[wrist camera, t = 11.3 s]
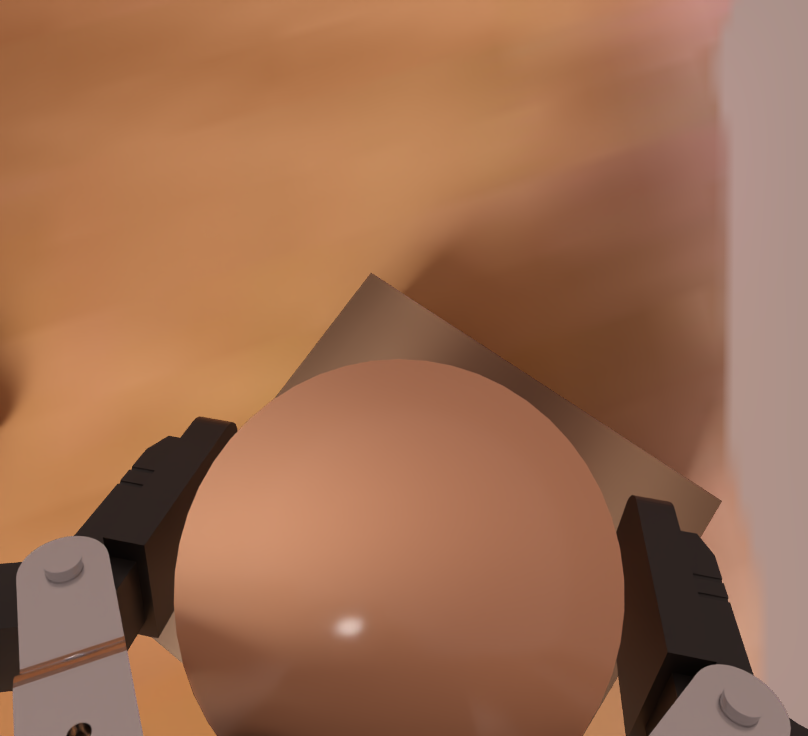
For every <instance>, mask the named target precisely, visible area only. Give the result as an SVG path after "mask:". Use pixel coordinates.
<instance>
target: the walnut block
mask: <svg viewBox="0 0 808 736" xmlns="http://www.w3.org/2000/svg"><path fill="white" fill-rule="evenodd" d="M391 359H407V360H423V361H430V362H435V363H441V364H446V365H451V366H455V367H458V368H461V369H464V370H467V371H470V372H473V373H476V374H479V375H481V376H483V377H486V378H488V379H490V380H492V381H494V382H496V383H498V384H500V385H503V386H504V387H506V388H508V389H509V390H511V391H512V392H514V393H515V394H517V395H519V396H520V397H522V398H523V399H525V400H526V401H528V402H529V403H530V404H531V405H533V406H534V407H535V408H536V409H538V410H539V411H540V412H541V413H542V414H544V415H545V416H546V417H547V418H548V419H549V420H550V421H551V422H552V423H553V424H554V425H555V426H556V427H557V428H558V429H559V430H560V431H561V432H562V433H563V434H564V435H565V436H566V438H567V439H568V440H569V441H570V442H571V444H572V445H573V446H574V448H575V449H576V450H577V452H578V453H579V455H580V456H581V457H582V459H583V460H584V461H585V463H586V464H587V466H588V468H589V470H590V471H591V473H592V475H593V477H594V479H595V480H596V482H597V484H598V486H599V488H600V489H601V492H602V494H603V497H604V499H605V502H606V504H607V507H608V509H609V512H610V514H611V517H612V520H613V523H614V527H615V531H617V528H618V526H619V523H620V520H621V517H622V514H623V511H624V508H625V506H626V503H627V501H628V499H629V497H630V496H631V495H635V496H641V497H646V498H652V499H657V500H663V501H669V502H671V503H672V504H673V505H674V508H675V512H676V515H677V519H678V522H679V526H680V530H681V531H685V532H691V533H696V534H698V536H699V537H701V536H702V534H703V532H704V531H705V529H706V527H707V525H708V524H709V522H710V520H711V519H712V517H713V515H714V514H715V512H716V510H717V509H718V507H719V505H720V504H721V502H722V501H721V500H719V499H718V498H716V497H715V496H713V495H712V494H710V493H709V492H707V491H706V490H704V489H703V488H701V487H699V486H698V485H696V484H695V483H693V482H692V481H690V480H689V479H687V478H686V477H684V476H683V475H681V474H679V473H678V472H676V471H675V470H673V469H672V468H670V467H669V466H667V465H666V464H664V463H663V462H661V461H660V460H658V459H656V458H655V457H653V456H652V455H650V454H649V453H647V452H646V451H644V450H643V449H641V448H640V447H638V446H636V445H635V444H633V443H632V442H630V441H629V440H627V439H626V438H624V437H623V436H621V435H620V434H618V433H617V432H615V431H613V430H612V429H610V428H609V427H607V426H606V425H604V424H603V423H601V422H600V421H598V420H597V419H595V418H593V417H592V416H590V415H589V414H587V413H586V412H584V411H583V410H581V409H580V408H578V407H577V406H575V405H573V404H572V403H570V402H569V401H567V400H566V399H564V398H563V397H561V396H560V395H558V394H557V393H555V392H554V391H552V390H550V389H549V388H547V387H546V386H544V385H543V384H541V383H540V382H538V381H537V380H535V379H534V378H532V377H530V376H529V375H527V374H526V373H524V372H523V371H521V370H520V369H518V368H517V367H515V366H514V365H512V364H511V363H509V362H507V361H506V360H504V359H503V358H501V357H500V356H498V355H497V354H495V353H494V352H492V351H491V350H489V349H487V348H486V347H484V346H483V345H481V344H480V343H478V342H477V341H475V340H474V339H472V338H471V337H469V336H467V335H466V334H464V333H463V332H461V331H460V330H458V329H457V328H455V327H454V326H452V325H451V324H449V323H448V322H446V321H444V320H443V319H441V318H440V317H438V316H437V315H435V314H434V313H432V312H431V311H429V310H428V309H426V308H424V307H423V306H421V305H420V304H418V303H417V302H415V301H414V300H412V299H411V298H409V297H408V296H406V295H405V294H403V293H401V292H400V291H398V290H397V289H395V288H394V287H392V286H391V285H389V284H388V283H386V282H385V281H383V280H381V279H380V278H378V277H377V276H375V275H374V274H372V273H371V274H370V275H369V276H368V277H367V279H366V280H365V281H364V283H363V284H362V285H361V287H360V288H359V289H358V291H357V292H356V293H355V294H354V296H353V297H352V298H351V300H350V301H349V302H348V304H347V305H346V306H345V307H344V309H343V310H342V311H341V313H340V314H339V315H338V317H337V318H336V319H335V320H334V322H333V323H332V324H331V326H330V327H329V328H328V330H327V331H326V332H325V334H324V335H323V336H322V337H321V339H320V340H319V341H318V343H317V344H316V345H315V347H314V348H313V349H312V350H311V352H310V353H309V354H308V356H307V357H306V358H305V360H304V361H303V362H302V364H301V365H300V366H299V367H298V369H297V370H296V371H295V373H294V374H293V375H292V377H291V378H290V379H289V380H288V382H287V383H286V384H285V386H284V387H283V388H282V390H281V391H280V392H279V393H278V395H277V396H276V397H275V398H277V397H278V396H280V395H281V394H283V393H284V392H286V391H288V390H289V389H291V388H292V387H294V386H296V385H298V384H300V383H302V382H304V381H306V380H309V379H311V378H313V377H315V376H317V375H319V374H322V373H325V372H328V371H331V370H334V369H337V368H340V367H343V366H347V365H352V364H358V363H363V362H368V361H376V360H391ZM152 638H153V639H155V640H156V641H157V642H158V643H159V644H160V645H162V646H163V647H164V648H165V649H166V650H168V651H169V652H170V653H171V654H172V655H173V656H175V657H176V658H177V659H178V660H179V661H181V662H182V657H181V652H180V648H179V643H178V638H177V634H176V622H175V611H174V612H173V614H172V615H171V617H170V619H169V621H168V622H167V624H166V626H165V628H164V629H163V631H162V633H161V635H160V636H159V638H154V637H152ZM182 663H183V662H182ZM617 677H618V670H617V662H615V666H614V670H613V674H612V676H611V679H610V681H609V684H608V686H607V689H606V691H605V694H604V696H603V699H602V701H601V704H602V703H603V701H604V699H605V697H606V696H607V694H608V692H609V691H610V689H611V687H612V686H613V684H614V682H615V681H616V679H617ZM601 704H600V706H601ZM600 706H599V707H598V709H599V708H600ZM598 709H597V711H598ZM597 711H596V713H597ZM596 713H595V714H596ZM595 714H594V716H595ZM594 716H593V718H594ZM593 718H592V719H593ZM591 721H592V720H591ZM591 721H590V723H591ZM590 723H589V724H590ZM588 726H589V725H588ZM587 728H588V727H587ZM586 730H587V729H586ZM586 730H585V731H586ZM584 733H585V732H584ZM584 733H583V735H584ZM583 735H582V736H583Z"/></svg>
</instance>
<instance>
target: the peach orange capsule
mask: <svg viewBox="0 0 808 736" xmlns="http://www.w3.org/2000/svg"><path fill="white" fill-rule="evenodd" d="M174 611H175V622H176V634H177V638H178V643H179V648H180V652H181V657H182V662H183V666H184V668H185V671H186V674H187V677H188V680H189V682H190V685H191V688H192V691H193V694H194V696H195V698H196V700H197V702H198V704H199V706H200V708H201V710H202V712H203V714H204V716H205V717H206V719H207V721H208V723H209V725H210V726H211V728H212V729H213V730H214V732H215V733H216V735H217V736H582V735H583V733H584V732H585V730H586V729H587V727H588V725H589V723H590V721H591V720H592V718H593V716H594V714H595V713H596V711H597V709H598V707H599V706H600V704H601V701H602V699H603V696H604V694H605V691H606V689H607V686H608V684H609V681H610V679H611V676H612V674H613V670H614V666H615V662H616V658H617V654H618V650H619V646H620V642H621V634H622V626H623V618H624V574H623V567H622V559H621V552H620V546H619V542H618V539H617V535H616V531H615V527H614V523H613V520H612V517H611V514H610V512H609V509H608V507H607V504H606V502H605V499H604V497H603V494H602V492H601V489H600V488H599V486H598V484H597V482H596V480H595V479H594V477H593V475H592V473H591V471H590V470H589V468H588V466H587V464H586V463H585V461H584V460H583V459H582V457H581V456H580V455H579V453H578V452H577V450H576V449H575V448H574V446H573V445H572V444H571V442H570V441H569V440H568V439H567V438H566V436H565V435H564V434H563V433H562V432H561V431H560V430H559V429H558V428H557V427H556V426H555V425H554V424H553V423H552V422H551V421H550V420H549V419H548V418H547V417H546V416H545V415H544V414H542V413H541V412H540V411H539V410H538V409H536V408H535V407H534V406H533V405H531V404H530V403H529V402H528V401H526V400H525V399H523V398H522V397H520V396H519V395H517V394H515V393H514V392H512V391H511V390H509V389H508V388H506V387H504V386H503V385H500V384H498V383H496V382H494V381H492V380H490V379H488V378H486V377H483V376H481V375H479V374H476V373H473V372H470V371H467V370H464V369H461V368H458V367H455V366H451V365H446V364H441V363H435V362H430V361H423V360H407V359H391V360H376V361H368V362H363V363H358V364H352V365H347V366H343V367H340V368H337V369H334V370H331V371H328V372H325V373H322V374H319V375H317V376H315V377H313V378H311V379H309V380H306V381H304V382H302V383H300V384H298V385H296V386H294V387H292V388H291V389H289V390H288V391H286V392H284V393H283V394H281V395H280V396H278V397H277V398H275V399H273V400H272V401H271V402H269V403H268V404H267V405H266V406H264V407H263V408H262V409H261V410H260V411H258V412H257V413H256V414H255V415H254V416H252V417H251V418H250V419H249V420H248V421H247V422H246V423H245V424H244V425H243V426H242V427H241V428H240V429H239V430H238V432H237V433H236V434H235V435H234V436H233V437H232V438H231V439H230V440H229V442H228V443H227V444H226V446H225V447H224V448H223V450H222V451H221V452H220V454H219V455H218V456H217V458H216V459H215V460H214V462H213V463H212V465H211V467H210V469H209V470H208V472H207V474H206V476H205V477H204V479H203V481H202V483H201V485H200V486H199V488H198V491H197V493H196V496H195V498H194V500H193V503H192V505H191V507H190V510H189V512H188V515H187V518H186V522H185V525H184V529H183V532H182V536H181V539H180V543H179V549H178V556H177V562H176V568H175V582H174Z"/></svg>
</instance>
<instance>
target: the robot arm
mask: <svg viewBox="0 0 808 736" xmlns="http://www.w3.org/2000/svg"><path fill="white" fill-rule="evenodd" d="M236 433H237V427H236V424H235V423H233V422H228V421H222V420H217V419H211V418H205V417H197V418H196V419H195V420H194V421H193V422H192V424H191V425H190V426H189V427H188V429H187V430H186V431H185V432H184V434H183V435H182V436H181V438H178V437H172V436H168V437H166V438H164V439H163V440H161V441H159V442H158V443H156V444H154V445H153V446H151V447H149V448H148V449H146V450H145V452H144V453H143V454H142V455H141V456H140V458H139V459H138V460H137V461H136V462H135V464H134V465H133V466H132V470H129V471H128V472H127V473H126V474H125V476H124V477H123V478H122V479H121V482H120V484H117V485H116V486H115V488H114V489H113V490H112V491H111V492H110V494H109V495H108V496H107V497H106V498H105V500H104V501H103V502H102V503H101V504H100V506H99V507H98V508H97V509H96V510H95V512H94V513H93V514H92V515H91V516H90V518H89V519H88V520H87V521H86V522H85V523H84V525H83V526H82V527H81V528H80V529H79V531H78V532H77V533H76V534H75V535H74V536H69V537H64V538H59V539H56V540H53V541H50V542H48V543H46V544H44V545H42V546H40V547H38V548H37V549H36V550H34V551H33V552H31V553H30V554H29V555H28V556H27V557H26V558H25V559H24V561H23V562H18V563H6V564H0V692H6V691H13V716H14V736H143V732H142V726H141V721H140V716H139V711H138V705H137V700H136V695H135V690H134V684H133V679H132V674H131V669H130V663H129V658H128V653H127V651H128V649H129V648H130V646H131V644H132V643H133V641H134V639H135V638H136V636H137V634H140V635H145V636H149V637H154V638H159V636H160V635H161V633H162V631H163V629H164V628H165V626H166V624H167V622H168V621H169V619H170V617H171V615H172V614H173V612H174V582H175V568H176V562H177V556H178V549H179V543H180V539H181V536H182V532H183V529H184V525H185V522H186V518H187V515H188V512H189V510H190V507H191V505H192V503H193V500H194V498H195V496H196V493H197V491H198V488H199V486H200V485H201V483H202V481H203V479H204V477H205V476H206V474H207V472H208V470H209V469H210V467H211V465H212V463H213V462H214V460H215V459H216V458H217V456H218V455H219V454H220V452H221V451H222V450H223V448H224V447H225V446H226V444H227V443H228V442H229V440H230V439H231V438H232V437H233V436H234V435H235V434H236ZM616 535H617V539H618V542H619V546H620V552H621V559H622V567H623V574H624V618H623V626H622V634H621V642H620V646H619V650H618V654H617V658H616V662H617V670H618V678H619V685H620V693H621V701H622V709H623V717H624V725H625V733H626V736H808V729H807V728H805V727H803V726H801V725H799V724H797V723H796V722H794V721H793V720H792V719H790V718H789V717H788V713H787V711H786V709H785V707H784V705H783V704H782V702H781V701H780V699H779V698H778V697H777V696H776V694H775V693H774V692H773V691H772V690H771V689H770V688H769V687H768V686H767V685H766V684H765V683H763V682H762V681H761V680H759V679H758V678H757V677H755V676H754V675H753V672H752V669H751V666H750V663H749V660H748V657H747V654H746V651H745V648H744V645H743V641H742V638H741V635H740V632H739V629H738V626H737V623H736V620H735V617H734V614H733V611H732V608H731V604H730V603H729V602H728V595H727V592H726V589H725V586H724V583H722V577H721V574H720V571H719V567H718V564H717V561H716V558H715V555H714V554H713V553H712V552H711V550H710V549H709V548H708V547H707V546H706V544H705V543H704V542H703V541H702V539H701V538H700V537H699V536H698V534H696V533H691V532H685V531H681V530H680V526H679V522H678V519H677V515H676V512H675V508H674V505H673V504H672V503H671V502H669V501H663V500H657V499H652V498H646V497H641V496H635V495H631V496H630V497H629V499H628V501H627V503H626V506H625V508H624V511H623V514H622V517H621V520H620V523H619V526H618V528H617V531H616Z"/></svg>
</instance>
